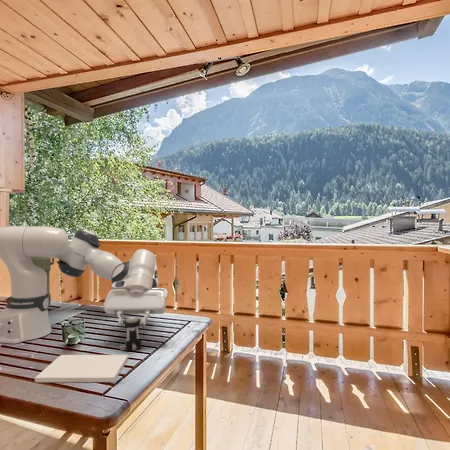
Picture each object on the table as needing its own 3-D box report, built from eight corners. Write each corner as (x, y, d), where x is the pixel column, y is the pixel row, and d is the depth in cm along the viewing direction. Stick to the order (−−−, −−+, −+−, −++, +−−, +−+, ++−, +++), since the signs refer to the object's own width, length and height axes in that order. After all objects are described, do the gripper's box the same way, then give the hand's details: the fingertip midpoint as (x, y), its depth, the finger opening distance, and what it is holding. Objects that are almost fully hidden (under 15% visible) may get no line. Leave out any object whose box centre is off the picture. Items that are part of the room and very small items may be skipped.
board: (34, 382, 83) (34, 377, 83) (60, 358, 97) (60, 355, 97) (113, 382, 84) (113, 377, 84) (128, 358, 98) (128, 354, 98)
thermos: (24, 307, 152) (24, 232, 152) (52, 304, 159) (52, 232, 159) (25, 311, 145) (25, 233, 145) (55, 308, 152) (55, 233, 151)
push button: (122, 354, 101) (121, 322, 101) (118, 348, 105) (117, 318, 105) (143, 349, 104) (142, 318, 104) (139, 344, 109) (138, 314, 109)
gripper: (169, 293, 117) (165, 329, 107) (111, 293, 116) (102, 329, 106) (167, 283, 112) (163, 319, 103) (107, 283, 111) (97, 320, 102)
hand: (131, 324), depth 104 cm, fingers closed on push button, 5 cm apart
